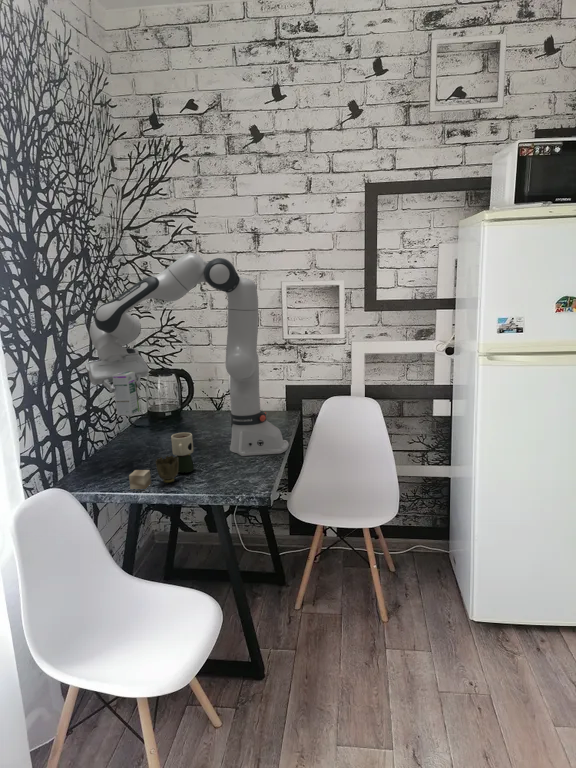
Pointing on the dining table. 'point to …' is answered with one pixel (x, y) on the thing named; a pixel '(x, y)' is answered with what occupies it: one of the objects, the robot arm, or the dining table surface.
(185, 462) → the character mug
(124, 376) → the syrup box
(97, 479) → the dining table surface
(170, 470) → the cup
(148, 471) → the birch block
